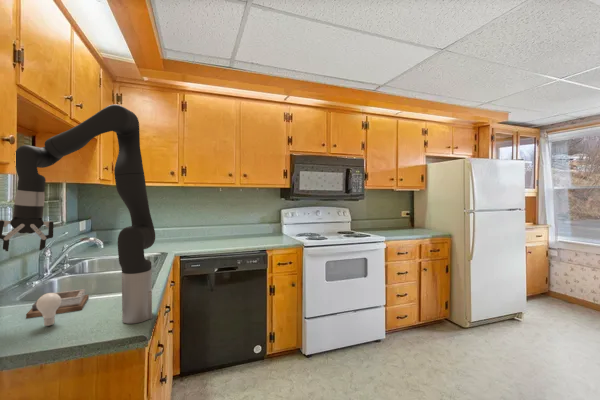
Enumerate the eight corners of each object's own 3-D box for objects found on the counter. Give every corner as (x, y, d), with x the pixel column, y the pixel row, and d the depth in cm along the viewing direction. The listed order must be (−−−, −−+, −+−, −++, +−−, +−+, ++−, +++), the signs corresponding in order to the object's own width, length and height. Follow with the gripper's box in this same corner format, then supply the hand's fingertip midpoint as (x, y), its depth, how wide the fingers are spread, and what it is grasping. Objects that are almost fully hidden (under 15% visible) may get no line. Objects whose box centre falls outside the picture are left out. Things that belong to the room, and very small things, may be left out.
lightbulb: (33, 327, 96) (32, 294, 96) (56, 320, 101) (55, 289, 101) (42, 331, 93) (41, 298, 93) (65, 323, 98) (64, 292, 98)
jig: (88, 297, 123) (88, 287, 122) (81, 309, 110) (81, 298, 110) (39, 304, 115) (39, 293, 115) (26, 318, 103) (25, 305, 103)
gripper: (-1, 203, 92) (-7, 253, 92) (57, 206, 102) (52, 251, 102) (0, 201, 98) (-5, 249, 98) (55, 204, 108) (50, 247, 108)
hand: (24, 250), depth 100 cm, fingers open, 8 cm apart
